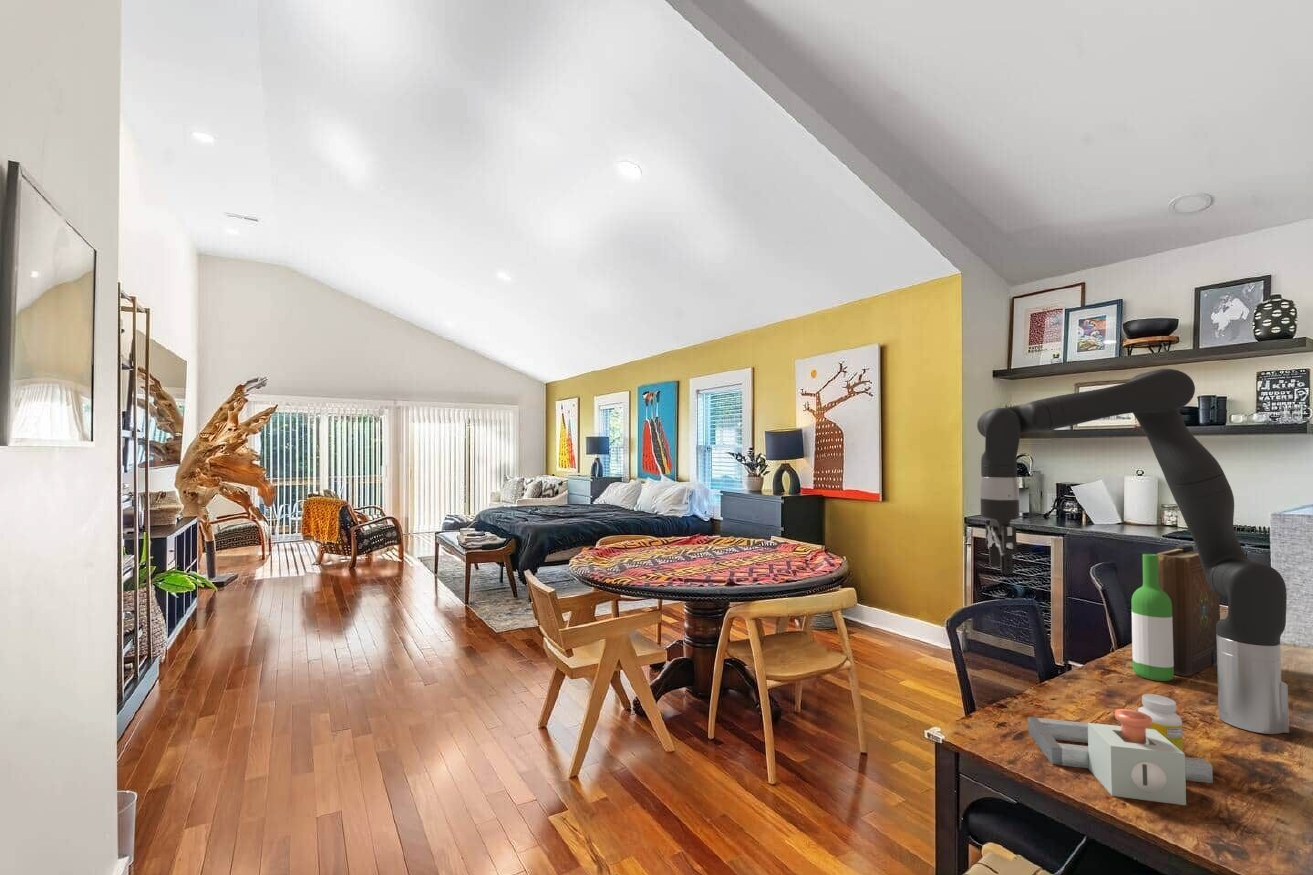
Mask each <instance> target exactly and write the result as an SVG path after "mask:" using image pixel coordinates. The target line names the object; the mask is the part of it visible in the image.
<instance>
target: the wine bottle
mask: <svg viewBox="0 0 1313 875" xmlns="http://www.w3.org/2000/svg"><path fill="white" fill-rule="evenodd" d="M1130 602H1131V644H1132V645H1131V647H1132V652H1131V653H1132V669H1133V672H1134V673H1135V674H1136V675H1137V676H1139V677H1141V678H1144V679H1147V680H1151V681H1156V682H1157V681H1158V682H1170V681H1171V680H1173V678H1174V675H1175V674H1174V658H1173V623H1172V603H1171V600H1170V598H1169V596H1168V595H1167V594H1166V593H1165V592H1164V591H1163V590H1161V589H1160V587H1159V575H1158V556H1157V555H1156V554H1154V553H1143V554H1142V585H1141V586H1140V587H1139V588H1137V589H1136V590H1134V592H1133V594H1132V595H1131V601H1130Z"/></svg>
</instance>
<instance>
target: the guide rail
mask: <svg viewBox="0 0 1313 875" xmlns="http://www.w3.org/2000/svg"><path fill="white" fill-rule="evenodd" d="M1088 723H1089V722H1081V721H1072V720H1071V721H1070V720H1061V719H1051V718H1044V717H1043V718H1042V717H1041V718H1040V717H1032V716H1027V733H1028V734H1029V735H1030V737H1031V738H1032V739H1033V741H1034V742H1035V743H1036V745H1037V746H1038V748H1039V749H1040V750H1041V752H1042V753H1043V754H1044V756H1045V757H1046V758H1047V759H1048V761H1049V763H1051V764H1052V765H1056V766H1064V767H1074V768H1079V769H1081V768H1082V769H1088V770H1089V759H1088V745H1080V744H1070V743H1061V742H1058V741H1065V742H1066V741H1067V742H1077V743H1085V744H1088ZM1056 740H1057V741H1056ZM1213 776H1214V774H1213V764H1211V763H1210V762H1209V761H1208V760H1206V759H1204V758H1197V757H1188V756H1185V780H1186V781H1189V782H1190V781H1191V782H1197V783H1206V784H1214V782H1213V781H1214V779H1213V778H1214V777H1213Z"/></svg>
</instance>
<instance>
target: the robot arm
mask: <svg viewBox="0 0 1313 875" xmlns="http://www.w3.org/2000/svg"><path fill="white" fill-rule="evenodd" d="M1195 392H1196V385H1195V383H1194V380H1193V379H1192V378H1191V376H1189V375H1188V374H1187V373H1186V372H1183V371H1181V370H1178V369H1173V368H1160V369H1155V370H1151V371H1147V372H1142V373H1140V374H1136V375H1134V376H1133V377H1131V378H1130V379H1129V381H1128V382H1125V383H1121V384H1120V383H1119V384H1117V385H1113V386H1108V387H1104V388H1099V389H1098V388H1097V389H1092V390H1086V391H1080V392H1079V391H1078V392H1071V393H1067V394H1060V395H1057V396H1056V395H1055V396H1051V397H1046V398H1041V399H1036V400H1033V401H1030V402H1027V403H1024V404H1019V405H1014V406H1006V407H997V408H994V409H989V410H988V411H984V412H983V413H982V414H981V415H980V417H979V418H978V419H977V424H976V428H977V430H978V432H979V434H980V435H981V436H982V437H984V439H985V440H984V442H985V443H984V444H985V445H984V452H983V453H982V455H981V457H980V458H981V459H980V460H981V461H980V473H981V474H980V476H981V479H980V486H979V487H980V488H979V489H980V517H981V518H983V519H985V521H984V522H985V543H984V544H985V545H986V546H987V548H988V554H989V555H988V556H989V557H988V558H989V562H988V563H989V566H992V567H1000V572H1001V573H1002V574H1011V575H1012V574H1013V573H1014V557H1015V555H1017V554H1018V547H1017V546H1018V545H1017V544H1018V542H1017V527H1016V526H1012V525H1011V521H1014V520H1018V519H1020V488H1019V481H1018V462H1017V461H1018V458H1017V454H1018V452H1019V451H1018V450H1019V444H1020V440H1021V435H1024V434H1028V433H1037V432H1040V433H1041V432H1047V431H1051V430H1055V429H1056V430H1057V429H1062V428H1067V427H1071V426H1075V425H1079V424H1084V423H1088V422H1092V421H1096V420H1100V419H1105V418H1111V417H1114V416H1121V415H1126V414H1133V416H1134V418H1135V419H1136V420H1137V422H1138V424H1139V426H1140V427H1141V429H1142V431H1143V432H1144V434H1145V435H1146V437H1147V440H1148V442H1149V444H1150V446H1151V448H1152V451H1153V453H1154V456H1155V458H1156V460H1157V463H1158V464H1159V467H1160V469H1161V471H1162V473H1163V477H1164V478H1165V481H1166V482H1165V483H1167V486H1168V488H1169V490H1170V492H1171V495H1172V497H1173V500H1174V502H1175V504H1176V505H1177V508H1178V510H1180V513H1181V516H1182V518H1183V520H1184V522H1185V524H1186V526H1187V528H1188V531H1189V533H1190V535H1191V538H1192V539H1193V542H1194V546H1195V548H1196V551H1197V553H1198V554H1199V557H1200V561H1201V564H1202V567H1203V571H1204V574H1205V577H1206V580H1207V582H1208V584H1209V586H1210V587H1211V589H1212V590H1213V591H1214V592H1215V593H1216V594H1218V595H1219V596H1220V597H1221V598H1222V599H1224V600H1227V601H1228V606H1227V616H1226V617H1225V618H1220V620H1219V621H1218V622H1217V624H1216V638H1217V665H1216V666H1217V710H1218V718H1219V719H1220V720H1221V721H1223V723H1226V724H1228V725H1230V726H1233V727H1235V728H1239V729H1242V730H1245V731H1249V732H1254V733H1259V734H1265V735H1279V734H1282V733H1287V734H1290V722H1289V717H1290V716H1289V688H1288V687H1289V686H1288V684H1287V683H1286V682H1284V681H1282V660H1281V658H1282V657H1281V655H1282V654H1281V636H1282V635H1283V633H1284V631H1285V629H1286V623H1287V601H1288V600H1287V598H1288V597H1287V594H1288V593H1287V586H1286V582H1285V580H1284V578H1283V575H1282V574H1281V573H1280V572H1279V571H1278V570H1277V569H1275V568H1274V567H1272V566H1270V565H1267V564H1264V563H1261V562H1259V561H1258V562H1257V561H1253V560H1250V558H1248V556H1247V554H1246V553H1245V551H1244V550H1243V547H1242V545H1241V543H1240V541H1239V539H1238V537H1237V534H1236V532H1235V531H1236V530H1235V527H1234V526H1235V524H1234V518H1235V516H1234V515H1235V498H1234V493H1233V490H1232V487H1231V485H1230V484H1229V480H1228V479H1227V476H1226V474H1225V472H1224V470H1223V468H1222V465H1220V463H1219V462H1218V461H1217V459H1216V458H1215V457H1214V455H1213V454H1212V453H1210V451H1209V450H1208V449H1207V448H1206V447H1205V446H1204V445H1203V444H1202V443H1201V442H1200V441H1199V439H1197V438H1196V437H1195V436H1194V435H1193V433H1192V432H1191V431H1190V430H1189V428H1188V427H1187V426H1186V423H1185V422H1184V419H1183V417H1182V415H1181V412H1180V409H1183V408H1184V407H1185V406H1187V405H1188V404H1189V403H1190V402H1191V401H1192V399H1193V398H1194V396H1195Z"/></svg>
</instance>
